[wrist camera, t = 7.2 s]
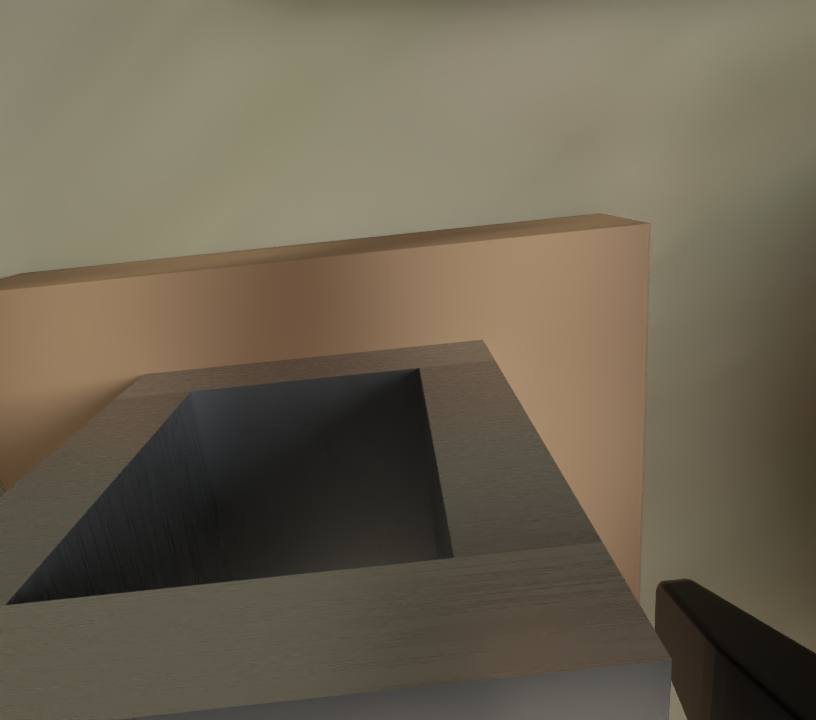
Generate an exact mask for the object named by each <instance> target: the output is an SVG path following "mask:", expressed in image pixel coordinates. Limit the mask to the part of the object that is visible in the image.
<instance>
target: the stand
mask: <svg viewBox="0 0 816 720" xmlns="http://www.w3.org/2000/svg"><path fill="white" fill-rule="evenodd" d="M649 247H650V223H645V222H640V221H635V220H630V219H625V218H620V217H615V216H610V215H605V214H592V215H582V216H573V217H563V218H553V219H544V220H534V221H524V222H515V223H505V224H495V225H486V226H476V227H466V228H457V229H447V230H437V231H428V232H418V233H408V234H399V235H389V236H379V237H370V238H360V239H350V240H341V241H331V242H321V243H312V244H302V245H292V246H283V247H273V248H263V249H254V250H244V251H234V252H225V253H215V254H205V255H196V256H186V257H176V258H167V259H157V260H147V261H138V262H128V263H118V264H109V265H99V266H89V267H79V268H70V269H60V270H50V271H41V272H31V273H21V274H18V275H14V276H10V277H7V278H3V279H0V480H1V483H2V486H3V489H4V491H5V492H6V491H7V490H9V489H10V488H11V487H12V486H13V485H15V484H16V483H17V482H18V481H19V480H20V479H22V478H23V477H24V476H25V475H26V474H27V473H29V472H30V471H31V470H32V469H33V468H35V467H36V466H37V465H38V464H39V463H40V462H42V461H43V460H44V459H45V458H46V457H47V456H49V455H50V454H51V453H52V452H53V451H55V450H56V449H57V448H58V447H59V446H60V445H62V444H63V443H64V442H65V441H66V440H67V439H69V438H70V437H71V436H72V435H73V434H75V433H76V432H77V431H78V430H79V429H80V428H82V427H83V426H84V425H85V424H86V423H87V422H89V421H90V420H91V419H92V418H93V417H94V416H96V415H97V414H98V413H99V412H100V411H102V410H103V409H104V408H105V407H106V406H107V405H109V404H110V403H111V402H112V401H113V400H114V399H116V398H117V397H118V396H119V395H120V394H122V393H123V392H124V391H125V390H126V389H127V388H129V387H130V386H131V385H132V384H133V383H134V382H136V381H137V380H138V379H139V378H140V377H142V376H143V375H144V374H151V373H161V372H171V371H180V370H190V369H200V368H210V367H220V366H229V365H239V364H249V363H259V362H268V361H278V360H288V359H298V358H308V357H317V356H327V355H337V354H347V353H357V352H366V351H376V350H386V349H396V348H406V347H415V346H425V345H435V344H445V343H454V342H464V341H474V340H483V341H484V342H485V344H486V346H487V347H488V349H489V351H490V352H491V354H492V356H493V357H494V359H495V361H496V363H497V364H498V366H499V368H500V369H501V371H502V373H503V374H504V376H505V378H506V379H507V381H508V383H509V385H510V386H511V388H512V390H513V391H514V393H515V395H516V396H517V398H518V400H519V402H520V403H521V405H522V407H523V408H524V410H525V412H526V413H527V415H528V417H529V418H530V420H531V422H532V424H533V425H534V427H535V429H536V430H537V432H538V434H539V435H540V437H541V439H542V440H543V442H544V444H545V446H546V447H547V449H548V451H549V452H550V454H551V456H552V457H553V459H554V461H555V462H556V464H557V466H558V468H559V469H560V471H561V473H562V474H563V476H564V478H565V479H566V481H567V483H568V485H569V486H570V488H571V490H572V491H573V493H574V495H575V496H576V498H577V500H578V501H579V503H580V505H581V507H582V508H583V510H584V512H585V513H586V515H587V517H588V518H589V520H590V522H591V523H592V525H593V527H594V529H595V530H596V532H597V534H598V535H599V537H600V539H601V540H602V542H603V544H604V545H605V547H606V549H607V551H608V552H609V554H610V556H611V557H612V559H613V561H614V562H615V564H616V566H617V568H618V569H619V571H620V573H621V574H622V576H623V578H624V579H625V581H626V583H627V584H628V586H629V588H630V590H631V591H632V593H633V595H634V596H635V598H636V600H637V601H638V603H639V604H640V568H641V532H642V497H643V461H644V425H645V390H646V354H647V318H648V283H649Z"/></svg>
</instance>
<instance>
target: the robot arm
mask: <svg viewBox="0 0 816 720" xmlns="http://www.w3.org/2000/svg"><path fill="white" fill-rule="evenodd" d="M655 632H656V634H657V635H658V637H659V639H660V640H661V642H662V644H663V645H664V647H665V649H666V651H667V652H668V654H669V656H670V657H671V659H672V667H671V680H672V683H673V685H674V688H675V690H676V693H677V695H678V698H679V700H680V702H681V705H682V707H683V710H684V712H685V715H686V717H687V720H816V653H814V652H812V651H811V650H809V649H807V648H806V647H804V646H802V645H800V644H799V643H797V642H795V641H794V640H792V639H790V638H789V637H787V636H785V635H784V634H782V633H780V632H779V631H777V630H775V629H773V628H772V627H770V626H768V625H767V624H765V623H763V622H762V621H760V620H758V619H757V618H755V617H753V616H752V615H750V614H748V613H746V612H745V611H743V610H741V609H740V608H738V607H736V606H735V605H733V604H731V603H730V602H728V601H726V600H725V599H723V598H721V597H719V596H718V595H716V594H714V593H713V592H711V591H709V590H708V589H706V588H704V587H703V586H701V585H699V584H698V583H696V582H694V581H692V580H690V579H677V580H667V581H662V582H660V583H659V584H658V586H657V589H656V607H655Z"/></svg>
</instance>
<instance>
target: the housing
mask: <svg viewBox="0 0 816 720" xmlns="http://www.w3.org/2000/svg"><path fill="white" fill-rule="evenodd" d="M671 667H672V659H671V657H670V656H669V654H668V652H667V651H666V649H665V647H664V645H663V644H662V642H661V640H660V639H659V637H658V635H657V634H656V632H655V630H654V628H653V627H652V625H651V623H650V622H649V620H648V618H647V617H646V615H645V613H644V612H643V610H642V608H641V606H640V605H639V603H638V601H637V600H636V598H635V596H634V595H633V593H632V591H631V590H630V588H629V586H628V584H627V583H626V581H625V579H624V578H623V576H622V574H621V573H620V571H619V569H618V568H617V566H616V564H615V562H614V561H613V559H612V557H611V556H610V554H609V552H608V551H607V549H606V547H605V545H604V544H603V542H602V540H601V539H600V537H599V535H598V534H597V532H596V530H595V529H594V527H593V525H592V523H591V522H590V520H589V518H588V517H587V515H586V513H585V512H584V510H583V508H582V507H581V505H580V503H579V501H578V500H577V498H576V496H575V495H574V493H573V491H572V490H571V488H570V486H569V485H568V483H567V481H566V479H565V478H564V476H563V474H562V473H561V471H560V469H559V468H558V466H557V464H556V462H555V461H554V459H553V457H552V456H551V454H550V452H549V451H548V449H547V447H546V446H545V444H544V442H543V440H542V439H541V437H540V435H539V434H538V432H537V430H536V429H535V427H534V425H533V424H532V422H531V420H530V418H529V417H528V415H527V413H526V412H525V410H524V408H523V407H522V405H521V403H520V402H519V400H518V398H517V396H516V395H515V393H514V391H513V390H512V388H511V386H510V385H509V383H508V381H507V379H506V378H505V376H504V374H503V373H502V371H501V369H500V368H499V366H498V364H497V363H496V361H495V359H494V357H493V356H492V354H491V352H490V351H489V349H488V347H487V346H486V344H485V342H484V341H483V340H474V341H464V342H454V343H445V344H435V345H425V346H415V347H406V348H396V349H386V350H376V351H366V352H357V353H347V354H337V355H327V356H317V357H308V358H298V359H288V360H278V361H268V362H259V363H249V364H239V365H229V366H220V367H210V368H200V369H190V370H180V371H171V372H161V373H151V374H144V375H143V376H142V377H140V378H139V379H138V380H137V381H136V382H134V383H133V384H132V385H131V386H130V387H129V388H127V389H126V390H125V391H124V392H123V393H122V394H120V395H119V396H118V397H117V398H116V399H114V400H113V401H112V402H111V403H110V404H109V405H107V406H106V407H105V408H104V409H103V410H102V411H100V412H99V413H98V414H97V415H96V416H94V417H93V418H92V419H91V420H90V421H89V422H87V423H86V424H85V425H84V426H83V427H82V428H80V429H79V430H78V431H77V432H76V433H75V434H73V435H72V436H71V437H70V438H69V439H67V440H66V441H65V442H64V443H63V444H62V445H60V446H59V447H58V448H57V449H56V450H55V451H53V452H52V453H51V454H50V455H49V456H47V457H46V458H45V459H44V460H43V461H42V462H40V463H39V464H38V465H37V466H36V467H35V468H33V469H32V470H31V471H30V472H29V473H27V474H26V475H25V476H24V477H23V478H22V479H20V480H19V481H18V482H17V483H16V484H15V485H13V486H12V487H11V488H10V489H9V490H7V491H6V492H5V493H4V494H3V495H2V496H0V720H669V704H670V686H671Z"/></svg>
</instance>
